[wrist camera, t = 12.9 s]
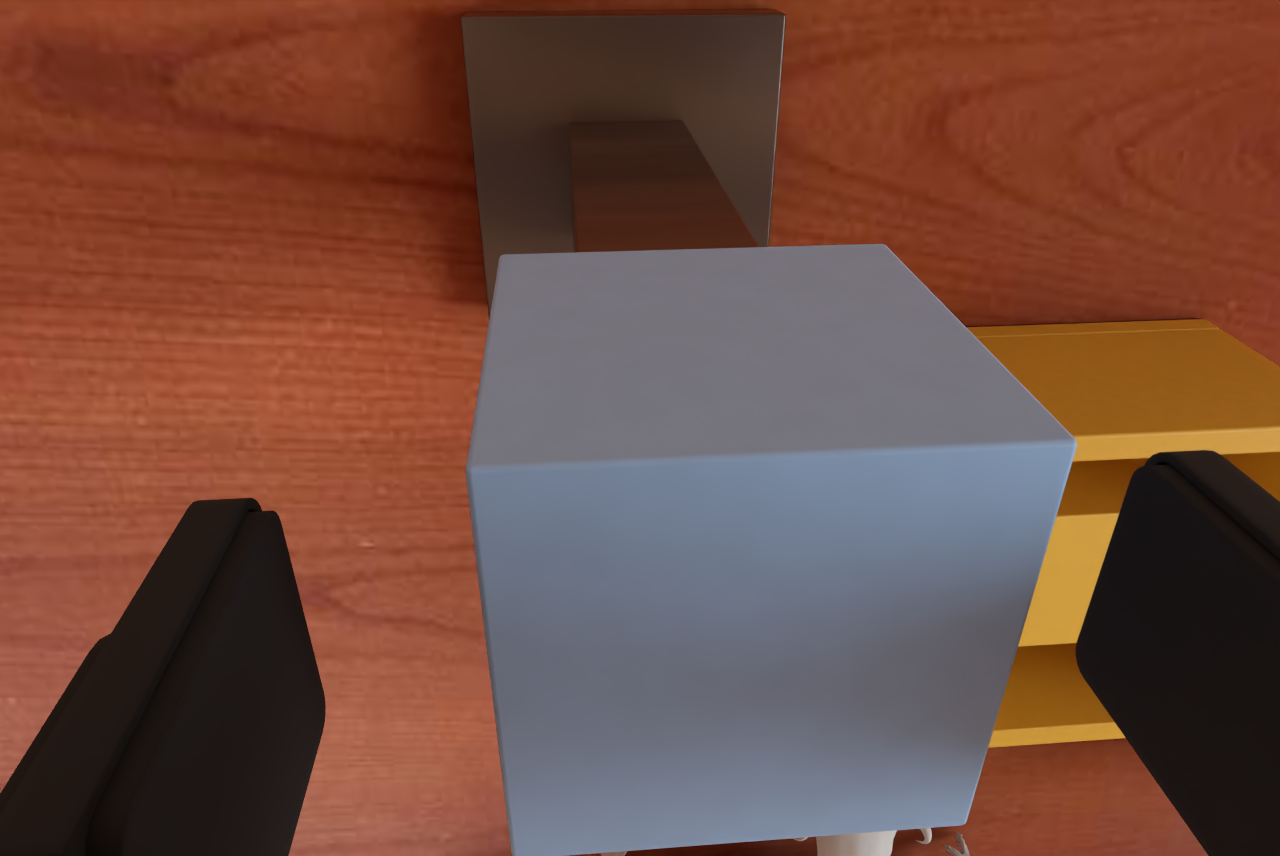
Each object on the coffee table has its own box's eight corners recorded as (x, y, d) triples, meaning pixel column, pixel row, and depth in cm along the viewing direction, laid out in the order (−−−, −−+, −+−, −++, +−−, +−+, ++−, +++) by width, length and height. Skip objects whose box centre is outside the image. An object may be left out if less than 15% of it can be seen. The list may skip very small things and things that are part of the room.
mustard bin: (853, 330, 28) (933, 442, 22) (1204, 317, 29) (1371, 423, 23) (816, 609, 34) (871, 756, 28) (1108, 592, 34) (1221, 732, 29)
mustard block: (947, 428, 29) (1016, 518, 25) (1094, 421, 29) (1186, 510, 25) (923, 548, 32) (981, 650, 27) (1057, 541, 32) (1136, 640, 28)
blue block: (499, 253, 11) (463, 467, 7) (885, 242, 12) (1082, 441, 7) (525, 563, 14) (511, 862, 9) (841, 546, 14) (967, 827, 10)
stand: (464, 11, 22) (358, 132, 10) (776, 8, 23) (1021, 120, 11) (491, 306, 26) (438, 640, 14) (756, 297, 27) (918, 612, 15)
